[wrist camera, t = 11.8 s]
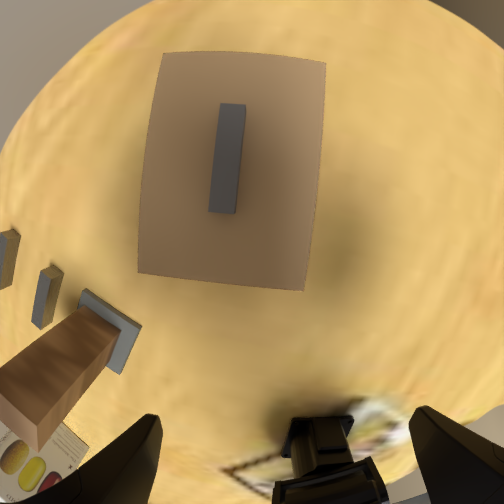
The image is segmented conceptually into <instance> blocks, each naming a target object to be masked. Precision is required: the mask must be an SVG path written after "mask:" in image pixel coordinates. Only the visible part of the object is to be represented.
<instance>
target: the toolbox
mask: <svg viewBox="0 0 504 504" xmlns="http://www.w3.org/2000/svg"><path fill="white" fill-rule="evenodd" d="M325 78H326V63H324V62H319V61H313V60H308V59H301V58H295V57H288V56H280V55H271V54H261V53H248V52H226V51H194V52H173V53H163V56H162V60H161V65H160V69H159V73H158V78H157V83H156V88H155V93H154V98H153V103H152V109H151V115H150V121H149V127H148V134H147V141H146V148H145V156H144V165H143V175H142V185H141V198H140V213H139V234H138V273H143V274H151V275H158V276H166V277H174V278H182V279H190V280H198V281H207V282H215V283H224V284H233V285H243V286H253V287H263V288H273V289H284V290H295V291H304V286H305V279H306V273H307V266H308V260H309V253H310V245H311V238H312V230H313V222H314V214H315V206H316V197H317V188H318V178H319V168H320V157H321V145H322V132H323V117H324V100H325Z"/></svg>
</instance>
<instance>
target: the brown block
mask: <svg viewBox="0 0 504 504" xmlns="http://www.w3.org/2000/svg"><path fill="white" fill-rule="evenodd" d="M120 333H121V330H120V329H119V328H117V327H116V326H114V325H113V324H111V323H110V322H108V321H107V320H105V319H104V318H102V317H101V316H100V315H98V314H97V313H95V312H94V311H93V310H91V309H90V308H88V307H87V306H86V305H84V306H82V307H81V308H80V309H78V310H77V311H75V312H74V313H72V314H71V315H70V316H68V317H67V318H65V319H64V320H63V321H61V322H60V323H59V324H57V325H56V326H54V327H53V328H52V329H50V330H49V331H48V332H46V333H45V334H44V335H42V336H41V337H40V338H38V339H37V340H36V341H34V342H33V343H32V344H30V345H29V346H28V347H26V348H25V349H24V350H22V351H21V352H20V353H19V354H17V355H16V356H15V357H13V358H12V359H11V360H10V361H8V362H7V363H6V364H5V365H3V366H2V367H1V368H0V420H1V421H2V422H3V423H4V424H5V425H6V426H7V427H8V428H9V429H10V430H11V431H12V432H13V433H15V434H16V435H17V436H18V437H19V438H20V439H21V440H23V441H24V442H25V443H26V444H27V445H29V446H30V447H31V448H32V449H34V450H35V451H36V452H37V453H39V452H40V450H41V449H42V448H43V446H44V445H45V444H46V442H47V441H48V439H49V438H50V437H51V435H52V434H53V433H54V431H55V430H56V429H57V427H58V426H59V425H60V423H61V422H62V421H63V420H64V418H65V417H66V416H67V414H68V413H69V412H70V410H71V409H72V408H73V407H74V405H75V404H76V403H77V401H78V400H79V399H80V398H81V396H82V395H83V394H84V392H85V391H86V390H87V389H88V387H89V386H90V385H91V384H92V382H93V381H94V380H95V379H96V377H97V376H98V375H99V374H100V373H101V371H102V370H103V369H104V368H105V366H106V365H107V364H108V363H109V361H110V359H111V356H112V354H113V351H114V348H115V346H116V343H117V341H118V338H119V335H120Z"/></svg>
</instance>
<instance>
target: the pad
mask: <svg viewBox="0 0 504 504" xmlns="http://www.w3.org/2000/svg"><path fill="white" fill-rule="evenodd" d="M84 305H86V306H87V307H88V308H90V309H91V310H93V311H94V312H95V313H97V314H98V315H100V316H101V317H102V318H104V319H105V320H107V321H108V322H110V323H111V324H113V325H114V326H116V327H117V328H119V329H120V330H121V333H120V335H119V338H118V341H117V343H116V346H115V348H114V351H113V354H112V356H111V359H110V361H109V363H108V364H107V365H106V367H108V368H109V369H111V370H112V371H114V372H116V373H117V374H119V375H120V374H121V372H122V370H123V368H124V366H125V363H126V361H127V359H128V356H129V354H130V352H131V350H132V347H133V345H134V343H135V341H136V338H137V336H138V334H139V332H140V330H141V328H142V326H140V325H139V324H137V323H136V322H134V321H133V320H131V319H129V318H128V317H126V316H125V315H123V314H122V313H120V312H119V311H117V310H116V309H114V308H113V307H112V306H110V305H109V304H107V303H106V302H104V301H103V300H101V299H100V298H99V297H97V296H96V295H94V294H93V293H92V292H90V291H89V290H88V289H84V290H83V291H82V294H81V297H80V301H79V304H78V308H77V310H78V309H80V308H81V307H82V306H84Z"/></svg>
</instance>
